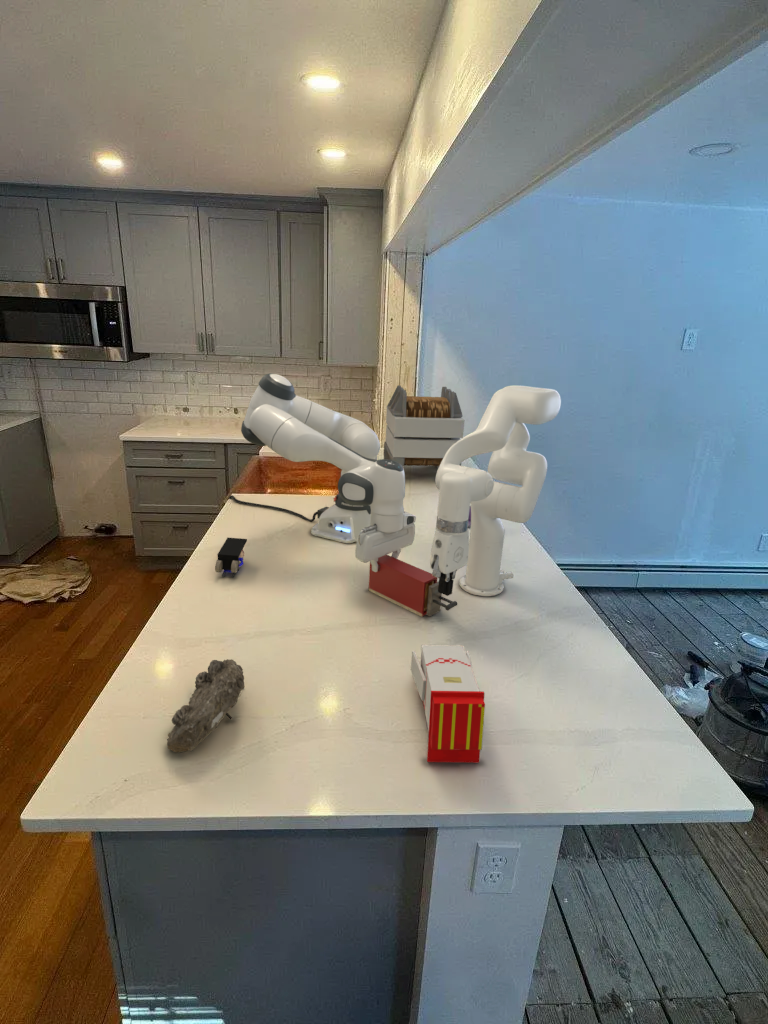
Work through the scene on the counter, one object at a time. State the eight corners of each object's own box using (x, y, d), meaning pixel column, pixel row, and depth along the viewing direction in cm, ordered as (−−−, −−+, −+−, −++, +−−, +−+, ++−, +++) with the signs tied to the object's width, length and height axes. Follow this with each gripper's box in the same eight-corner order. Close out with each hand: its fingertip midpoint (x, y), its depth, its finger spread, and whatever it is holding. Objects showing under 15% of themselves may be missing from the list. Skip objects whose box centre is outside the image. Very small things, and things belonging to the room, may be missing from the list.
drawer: (456, 618, 145) (459, 589, 142) (446, 624, 142) (449, 595, 139) (388, 586, 160) (390, 560, 157) (378, 591, 157) (379, 564, 154)
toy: (464, 627, 124) (494, 699, 95) (461, 683, 127) (489, 770, 98) (409, 626, 124) (422, 698, 94) (407, 682, 127) (419, 769, 97)
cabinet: (435, 609, 150) (437, 576, 147) (421, 616, 147) (424, 582, 143) (382, 584, 163) (383, 553, 159) (368, 590, 159) (369, 558, 156)
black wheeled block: (238, 584, 162) (249, 557, 175) (236, 562, 158) (247, 536, 172) (215, 584, 161) (227, 556, 175) (212, 561, 158) (225, 535, 171)
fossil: (192, 660, 117) (244, 628, 112) (224, 691, 120) (276, 661, 115) (142, 746, 98) (202, 712, 93) (182, 779, 101) (242, 748, 96)
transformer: (382, 463, 289) (386, 382, 275) (445, 464, 293) (451, 384, 279) (390, 482, 257) (394, 392, 243) (460, 483, 261) (468, 394, 247)
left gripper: (367, 533, 142) (366, 582, 147) (420, 515, 157) (416, 560, 161) (350, 526, 146) (349, 574, 151) (402, 509, 161) (400, 553, 165)
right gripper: (445, 535, 128) (438, 608, 134) (482, 522, 139) (474, 589, 145) (420, 526, 133) (414, 596, 139) (457, 514, 144) (450, 580, 150)
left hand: (384, 567), depth 156 cm, fingers closed on cabinet, 5 cm apart
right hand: (444, 593), depth 142 cm, fingers closed
